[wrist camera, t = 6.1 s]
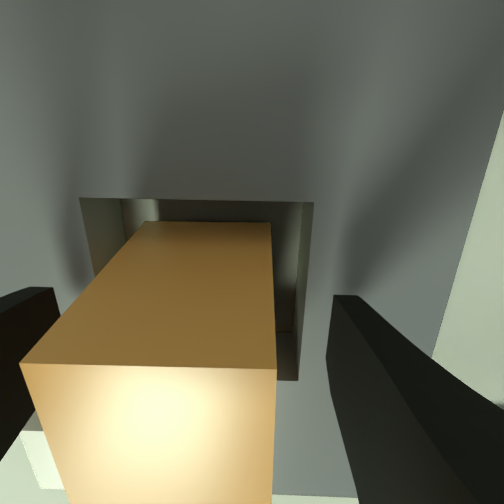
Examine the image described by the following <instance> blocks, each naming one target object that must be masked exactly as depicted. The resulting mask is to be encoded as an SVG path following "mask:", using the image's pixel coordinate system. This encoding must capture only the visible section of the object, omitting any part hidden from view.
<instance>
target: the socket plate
mask: <svg viewBox="0 0 504 504" xmlns="http://www.w3.org/2000/svg"><path fill="white" fill-rule="evenodd" d="M503 110H504V0H0V297H2V296H5V295H7V294H10V293H12V292H15V291H18V290H21V289H24V288H27V287H30V286H31V287H53V288H54V292H55V296H56V300H57V303H58V307H59V311H60V315H62V314H63V313H64V312H65V311H66V310H67V309H68V308H69V306H70V305H71V304H72V303H73V302H74V301H75V300H76V299H77V297H78V296H79V295H80V294H81V293H82V292H83V291H84V290H85V288H86V287H87V286H88V285H89V284H90V283H91V282H92V281H93V279H94V278H95V277H96V276H97V275H98V274H99V273H100V272H101V270H102V269H103V268H104V267H105V266H106V265H107V264H108V263H109V261H110V260H111V259H112V258H113V257H114V256H115V255H116V254H117V252H118V251H119V250H120V249H121V248H122V247H123V246H124V245H125V243H126V238H125V232H124V225H123V219H122V212H121V206H120V199H119V198H133V199H182V200H231V201H280V202H302V214H301V228H300V241H299V255H298V268H297V281H296V295H295V308H294V322H293V333H292V332H275V336H276V359H277V381H276V406H275V431H274V455H273V480H272V494H276V495H301V496H326V497H350V498H358V496H357V492H356V487H355V483H354V480H353V476H352V472H351V469H350V465H349V461H348V458H347V454H346V450H345V447H344V443H343V439H342V436H341V432H340V428H339V424H338V421H337V417H336V413H335V409H334V406H333V402H332V398H331V394H330V387H329V380H328V373H327V366H326V359H325V357H326V349H327V341H328V334H329V326H330V318H331V310H332V302H333V295H358V296H359V297H361V298H362V299H363V300H364V301H365V302H366V303H368V304H369V305H370V306H371V307H372V308H373V309H374V310H375V311H376V312H378V313H379V314H380V315H381V316H382V317H383V318H384V319H385V320H386V321H388V322H389V323H390V324H391V325H392V326H393V327H394V328H395V329H397V330H398V331H399V332H400V333H401V334H402V335H404V336H405V337H406V338H407V339H408V340H409V341H411V342H412V343H413V344H414V345H415V346H417V347H418V348H419V349H420V350H421V351H423V352H424V353H425V354H426V355H428V356H429V357H430V358H431V357H432V354H433V350H434V347H435V344H436V340H437V337H438V333H439V330H440V326H441V323H442V320H443V316H444V313H445V309H446V306H447V302H448V299H449V296H450V292H451V289H452V285H453V282H454V278H455V275H456V272H457V268H458V265H459V261H460V258H461V254H462V251H463V248H464V244H465V241H466V237H467V234H468V230H469V227H470V224H471V220H472V217H473V213H474V210H475V206H476V203H477V200H478V196H479V193H480V189H481V186H482V182H483V179H484V176H485V172H486V169H487V165H488V162H489V158H490V155H491V152H492V148H493V145H494V141H495V138H496V134H497V131H498V128H499V124H500V121H501V117H502V114H503ZM19 435H20V438H21V440H22V443H23V445H24V448H25V450H26V453H27V456H28V458H29V461H30V463H31V466H32V468H33V471H34V473H35V476H36V479H37V481H38V484H39V486H40V488H44V489H64V486H63V484H62V481H61V478H60V475H59V473H58V470H57V467H56V464H55V462H54V459H53V456H52V453H51V450H50V448H49V445H48V442H47V439H46V437H45V434H44V431H43V428H42V426H41V423H40V420H39V417H38V415H37V412H36V410H35V412H34V413H33V415H32V416H31V417H30V419H29V420H28V422H27V423H26V425H25V426H24V428H23V429H22V431H21V432H20V433H19Z"/></svg>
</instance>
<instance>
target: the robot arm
mask: <svg viewBox="0 0 504 504" xmlns="http://www.w3.org/2000/svg"><path fill="white" fill-rule="evenodd" d="M60 317H61V315H60V311H59V307H58V303H57V300H56V296H55V292H54V288H53V287H31V286H30V287H27V288H24V289H21V290H18V291H15V292H12V293H10V294H7V295H5V296H2V297H0V461H1V460H2V458H3V457H4V455H5V454H6V452H7V451H8V449H9V448H10V447H11V445H12V444H13V442H14V441H15V439H16V438H17V436H18V435H19V433H20V432H21V431H22V429H23V428H24V426H25V425H26V423H27V422H28V420H29V419H30V417H31V416H32V415H33V413H34V412H35V410H36V409H35V406H34V403H33V401H32V398H31V395H30V392H29V390H28V387H27V384H26V381H25V379H24V376H23V373H22V370H21V368H20V365H19V363H20V362H21V360H22V359H23V358H24V357H25V356H26V355H27V354H28V353H29V351H30V350H31V349H32V348H33V347H34V346H35V345H36V344H37V342H38V341H39V340H40V339H41V338H42V337H43V336H44V335H45V333H46V332H47V331H48V330H49V329H50V328H51V327H52V326H53V324H54V323H55V322H56V321H57V320H58V319H59V318H60ZM325 359H326V366H327V373H328V380H329V387H330V394H331V398H332V402H333V406H334V409H335V413H336V417H337V421H338V424H339V428H340V432H341V436H342V439H343V443H344V447H345V450H346V454H347V458H348V461H349V465H350V469H351V472H352V476H353V480H354V483H355V487H356V492H357V496H358V500H359V504H504V410H503V409H501V408H500V407H498V406H497V405H495V404H494V403H492V402H491V401H489V400H488V399H486V398H485V397H483V396H482V395H480V394H479V393H477V392H476V391H474V390H473V389H471V388H470V387H469V386H467V385H466V384H464V383H463V382H462V381H460V380H459V379H457V378H456V377H455V376H453V375H452V374H451V373H450V372H448V371H447V370H446V369H444V368H443V367H442V366H440V365H439V364H438V363H436V362H435V361H434V360H433V359H431V358H430V357H429V356H428V355H426V354H425V353H424V352H423V351H421V350H420V349H419V348H418V347H417V346H415V345H414V344H413V343H412V342H411V341H409V340H408V339H407V338H406V337H405V336H404V335H402V334H401V333H400V332H399V331H398V330H397V329H395V328H394V327H393V326H392V325H391V324H390V323H389V322H388V321H386V320H385V319H384V318H383V317H382V316H381V315H380V314H379V313H378V312H376V311H375V310H374V309H373V308H372V307H371V306H370V305H369V304H368V303H366V302H365V301H364V300H363V299H362V298H361V297H359V296H358V295H333V302H332V310H331V318H330V326H329V334H328V341H327V349H326V357H325Z"/></svg>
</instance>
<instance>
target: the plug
mask: <svg viewBox="0 0 504 504" xmlns="http://www.w3.org/2000/svg"><path fill="white" fill-rule="evenodd" d="M19 365H20V368H21V370H22V373H23V376H24V379H25V381H26V384H27V387H28V390H29V392H30V395H31V398H32V401H33V403H34V406H35V409H36V412H37V415H38V417H39V420H40V423H41V426H42V428H43V431H44V434H45V437H46V439H47V442H48V445H49V448H50V450H51V453H52V456H53V459H54V462H55V464H56V467H57V470H58V473H59V475H60V478H61V481H62V484H63V486H64V489H65V492H66V495H67V497H68V500H69V503H70V504H272V480H273V455H274V431H275V406H276V381H277V359H276V336H275V313H274V290H273V268H272V245H271V223H253V222H170V221H145V222H144V223H143V224H142V225H141V227H140V228H139V229H138V230H137V231H136V232H135V233H134V234H133V236H132V237H131V238H130V239H129V240H128V241H127V242H126V243H125V245H124V246H123V247H122V248H121V249H120V250H119V251H118V252H117V254H116V255H115V256H114V257H113V258H112V259H111V260H110V261H109V263H108V264H107V265H106V266H105V267H104V268H103V269H102V270H101V272H100V273H99V274H98V275H97V276H96V277H95V278H94V279H93V281H92V282H91V283H90V284H89V285H88V286H87V287H86V288H85V290H84V291H83V292H82V293H81V294H80V295H79V296H78V297H77V299H76V300H75V301H74V302H73V303H72V304H71V305H70V306H69V308H68V309H67V310H66V311H65V312H64V313H63V314H62V315H61V317H60V318H59V319H58V320H57V321H56V322H55V323H54V324H53V326H52V327H51V328H50V329H49V330H48V331H47V332H46V333H45V335H44V336H43V337H42V338H41V339H40V340H39V341H38V342H37V344H36V345H35V346H34V347H33V348H32V349H31V350H30V351H29V353H28V354H27V355H26V356H25V357H24V358H23V359H22V360H21V362H20V363H19Z"/></svg>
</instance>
